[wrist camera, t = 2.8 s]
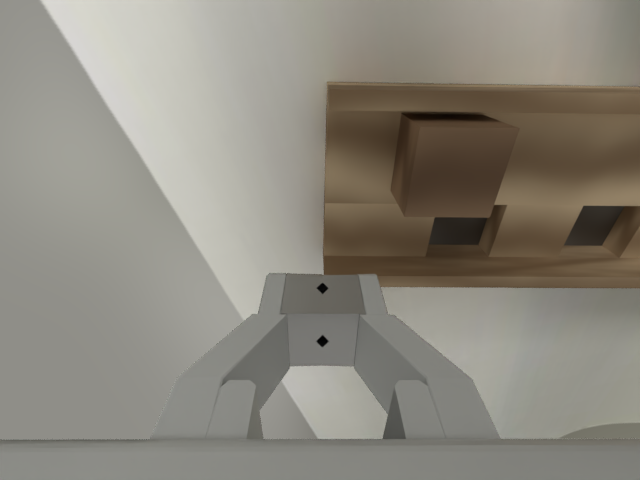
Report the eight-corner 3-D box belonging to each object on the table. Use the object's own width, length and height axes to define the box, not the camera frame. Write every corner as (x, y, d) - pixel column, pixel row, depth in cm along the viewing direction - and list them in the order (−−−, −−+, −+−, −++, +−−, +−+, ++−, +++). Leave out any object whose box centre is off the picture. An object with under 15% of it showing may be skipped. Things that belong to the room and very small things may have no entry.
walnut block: (401, 113, 19) (420, 126, 15) (483, 114, 19) (519, 128, 15) (390, 190, 21) (404, 216, 18) (462, 191, 21) (489, 217, 18)
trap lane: (327, 81, 20) (329, 89, 16) (833, 89, 20) (955, 98, 16) (323, 252, 26) (324, 286, 23) (701, 254, 27) (766, 288, 23)
